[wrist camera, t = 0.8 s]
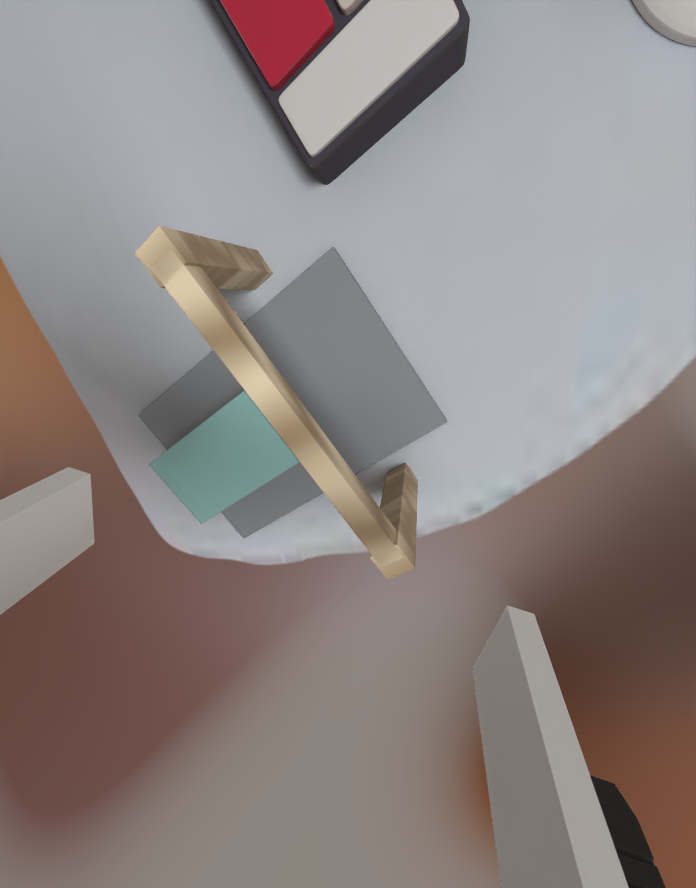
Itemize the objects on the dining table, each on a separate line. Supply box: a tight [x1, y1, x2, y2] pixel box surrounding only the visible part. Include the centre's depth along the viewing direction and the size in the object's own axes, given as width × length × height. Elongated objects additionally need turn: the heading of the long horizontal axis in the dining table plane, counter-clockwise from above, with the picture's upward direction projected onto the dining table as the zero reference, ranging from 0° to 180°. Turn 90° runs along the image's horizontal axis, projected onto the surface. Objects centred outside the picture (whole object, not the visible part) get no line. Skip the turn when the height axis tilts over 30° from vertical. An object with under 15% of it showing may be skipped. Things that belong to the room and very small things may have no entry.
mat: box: [138, 247, 447, 538], centre depth 34 cm, size 16×24×1 cm, turn 126°
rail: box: [135, 226, 418, 580], centre depth 26 cm, size 23×2×12 cm, turn 36°
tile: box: [149, 391, 300, 524], centre depth 33 cm, size 7×12×4 cm, turn 126°
